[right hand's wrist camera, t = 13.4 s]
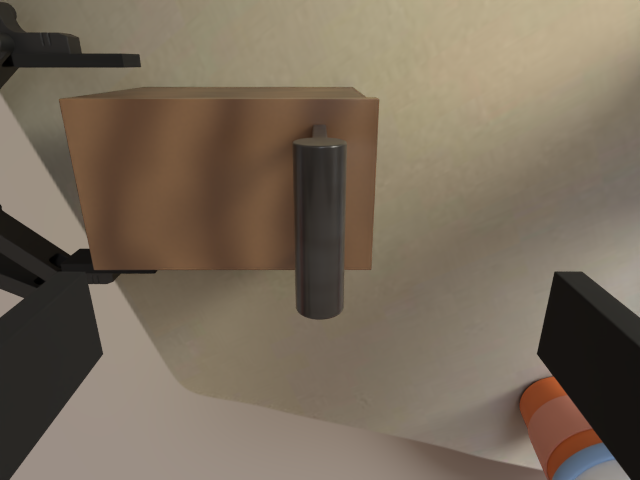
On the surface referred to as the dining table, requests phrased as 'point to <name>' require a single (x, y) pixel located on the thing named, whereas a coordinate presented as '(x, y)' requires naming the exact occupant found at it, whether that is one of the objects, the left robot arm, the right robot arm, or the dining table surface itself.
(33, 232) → the left robot arm
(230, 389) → the dining table surface
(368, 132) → the lid
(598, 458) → the cup with straw
